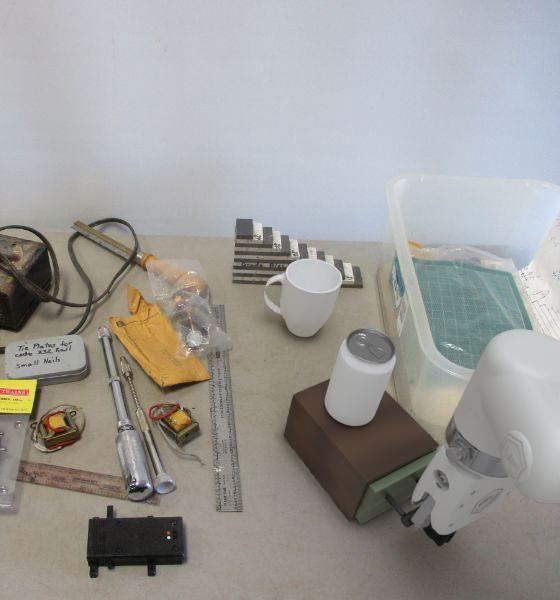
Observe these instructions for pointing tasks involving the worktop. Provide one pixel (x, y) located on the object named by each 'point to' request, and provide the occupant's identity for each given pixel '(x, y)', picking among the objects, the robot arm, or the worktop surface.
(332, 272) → the mug
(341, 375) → the can
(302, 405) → the cabinet
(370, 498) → the drawer
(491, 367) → the robot arm
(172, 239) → the worktop surface
